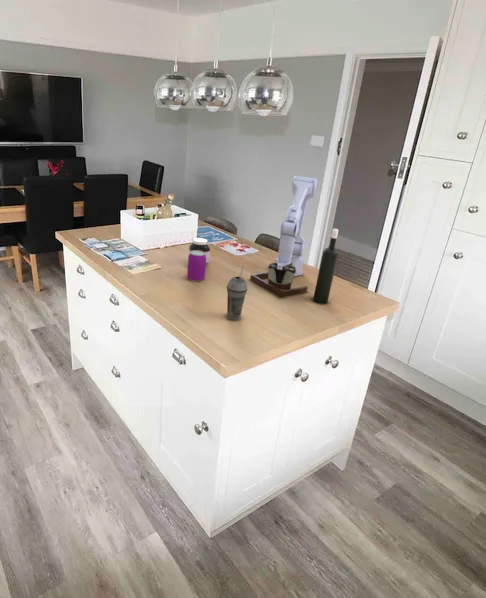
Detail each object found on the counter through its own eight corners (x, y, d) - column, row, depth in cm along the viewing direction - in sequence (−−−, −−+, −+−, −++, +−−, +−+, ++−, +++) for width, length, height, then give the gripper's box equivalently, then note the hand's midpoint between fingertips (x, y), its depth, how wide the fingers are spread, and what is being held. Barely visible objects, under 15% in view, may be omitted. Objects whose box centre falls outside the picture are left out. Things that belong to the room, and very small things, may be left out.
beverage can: (188, 274, 185) (189, 248, 180) (205, 276, 185) (207, 250, 180) (185, 281, 178) (187, 254, 173) (203, 283, 178) (205, 256, 173)
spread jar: (205, 260, 205) (207, 237, 200) (213, 268, 195) (215, 244, 190) (182, 261, 201) (183, 237, 196) (189, 269, 191) (190, 245, 186)
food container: (294, 287, 181) (299, 265, 177) (293, 291, 176) (297, 269, 172) (267, 281, 185) (270, 260, 180) (264, 286, 179) (267, 264, 175)
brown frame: (275, 275, 192) (276, 270, 191) (306, 292, 177) (307, 286, 176) (250, 279, 185) (250, 274, 184) (280, 297, 170) (281, 292, 168)
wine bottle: (312, 302, 168) (327, 229, 155) (314, 296, 173) (328, 226, 160) (326, 305, 166) (343, 231, 154) (328, 299, 171) (344, 228, 158)
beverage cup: (222, 312, 153) (227, 261, 145) (241, 313, 154) (248, 262, 146) (224, 321, 147) (231, 268, 138) (245, 322, 147) (252, 269, 139)
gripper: (280, 244, 181) (275, 273, 186) (272, 252, 169) (267, 283, 174) (296, 247, 178) (291, 276, 184) (289, 256, 166) (283, 287, 172)
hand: (280, 280), depth 179 cm, fingers closed on food container, 6 cm apart
